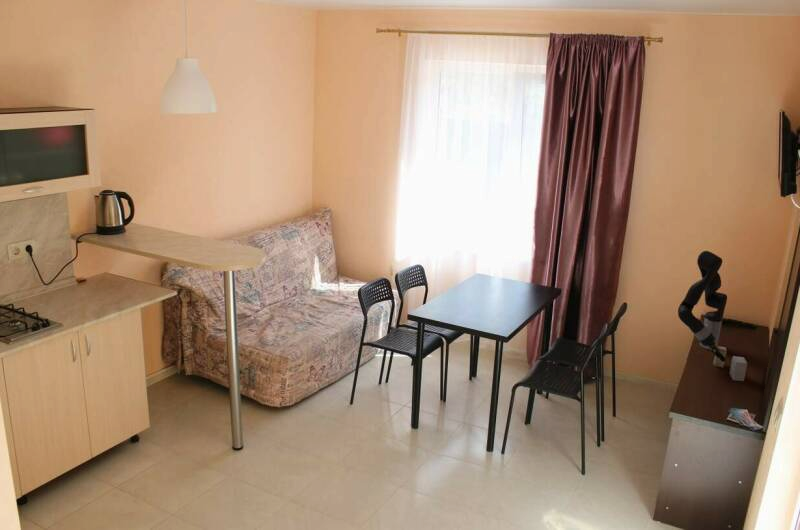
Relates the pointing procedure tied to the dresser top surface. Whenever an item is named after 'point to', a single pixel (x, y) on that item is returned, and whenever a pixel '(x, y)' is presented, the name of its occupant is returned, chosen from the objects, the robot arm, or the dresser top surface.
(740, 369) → the small box
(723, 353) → the maple block
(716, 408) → the dresser top surface
